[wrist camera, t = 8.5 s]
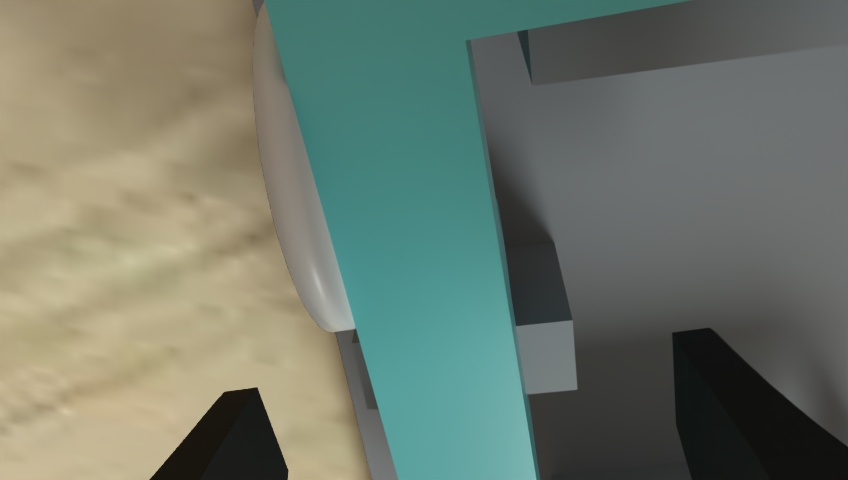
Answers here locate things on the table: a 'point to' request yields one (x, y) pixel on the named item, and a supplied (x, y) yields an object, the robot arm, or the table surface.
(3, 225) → the table surface
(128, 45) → the table surface
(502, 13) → the teal angled bar frame
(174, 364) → the table surface
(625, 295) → the display stand
